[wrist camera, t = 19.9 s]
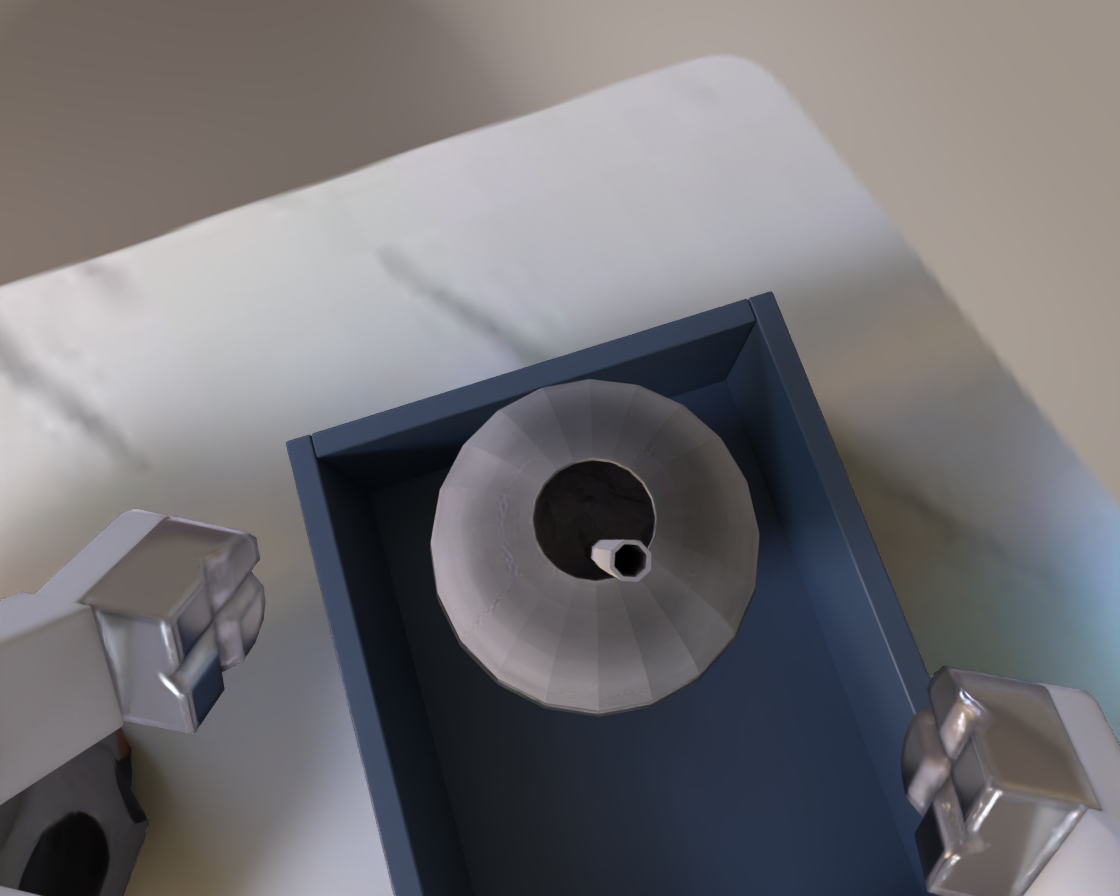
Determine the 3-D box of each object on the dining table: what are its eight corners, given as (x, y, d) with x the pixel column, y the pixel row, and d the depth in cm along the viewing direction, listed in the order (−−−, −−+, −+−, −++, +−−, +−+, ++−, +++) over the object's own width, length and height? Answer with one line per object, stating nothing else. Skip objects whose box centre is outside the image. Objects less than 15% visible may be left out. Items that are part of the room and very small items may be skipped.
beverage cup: (652, 452, 30) (766, 113, 10) (725, 643, 28) (1021, 661, 9) (466, 517, 30) (226, 291, 10) (529, 713, 28) (386, 894, 9)
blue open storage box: (733, 364, 32) (772, 289, 25) (960, 952, 27) (1086, 1060, 20) (351, 483, 31) (284, 441, 24) (510, 1105, 26) (482, 1271, 19)
